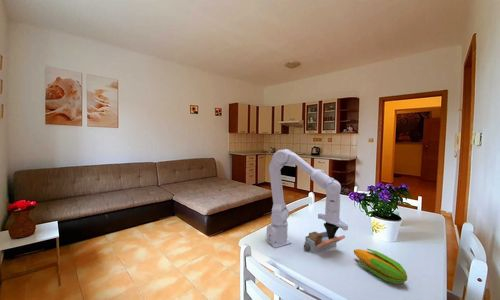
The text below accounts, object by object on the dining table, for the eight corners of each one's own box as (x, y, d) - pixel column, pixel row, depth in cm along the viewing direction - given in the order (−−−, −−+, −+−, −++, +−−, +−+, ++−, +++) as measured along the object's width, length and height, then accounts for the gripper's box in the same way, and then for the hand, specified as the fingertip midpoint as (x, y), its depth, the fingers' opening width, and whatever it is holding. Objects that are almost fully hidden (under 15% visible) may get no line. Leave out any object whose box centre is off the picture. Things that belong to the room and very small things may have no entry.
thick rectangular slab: (318, 248, 92) (326, 243, 88) (316, 245, 93) (324, 240, 88) (337, 242, 97) (345, 237, 93) (335, 240, 98) (344, 235, 94)
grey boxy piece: (310, 254, 92) (311, 241, 92) (303, 248, 97) (303, 236, 96) (338, 246, 100) (338, 234, 99) (329, 241, 104) (330, 230, 104)
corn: (401, 269, 70) (347, 242, 88) (398, 292, 70) (346, 260, 88) (413, 265, 74) (359, 239, 91) (410, 287, 74) (358, 257, 91)
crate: (314, 245, 94) (315, 236, 93) (308, 241, 97) (308, 233, 97) (321, 243, 96) (322, 235, 95) (315, 239, 99) (315, 231, 99)
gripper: (353, 213, 87) (352, 245, 88) (326, 203, 100) (325, 231, 101) (341, 216, 84) (340, 249, 85) (314, 205, 97) (313, 234, 98)
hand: (331, 240), depth 93 cm, fingers closed, pressing on thick rectangular slab
